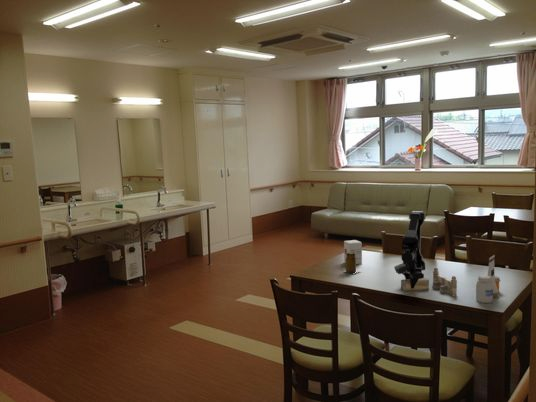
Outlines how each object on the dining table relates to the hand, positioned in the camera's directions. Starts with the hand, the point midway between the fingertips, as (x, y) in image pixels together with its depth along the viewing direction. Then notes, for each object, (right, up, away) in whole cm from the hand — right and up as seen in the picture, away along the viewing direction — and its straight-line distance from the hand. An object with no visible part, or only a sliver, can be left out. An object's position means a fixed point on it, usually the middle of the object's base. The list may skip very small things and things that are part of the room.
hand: (410, 287), depth 251 cm
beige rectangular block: (+3, -1, 0) cm, 3 cm away
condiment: (-25, +2, +38) cm, 45 cm away
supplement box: (-20, +5, +59) cm, 63 cm away
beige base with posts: (+16, -1, -3) cm, 17 cm away
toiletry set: (+35, -2, -16) cm, 38 cm away
